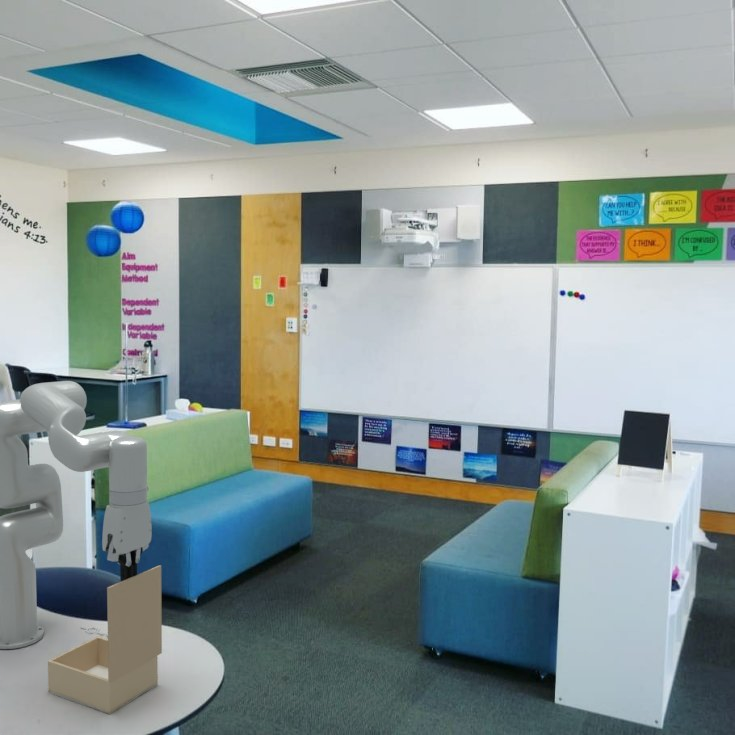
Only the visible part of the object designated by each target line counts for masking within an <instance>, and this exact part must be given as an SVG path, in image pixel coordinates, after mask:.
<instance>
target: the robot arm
mask: <svg viewBox="0 0 735 735" xmlns="http://www.w3.org/2000/svg"><path fill="white" fill-rule="evenodd" d="M87 402H88V400H87V394H86V391H85V390H84V388H83V387H82V386H81V385H80V384H79V383H78V382H75V381H72V380H62V381H61V380H60V381H59V380H58V381H50V382H49V381H48V382H40V383H35V384H31V385H29V386H28V387H26V388H25V389H24V390H23V391H22V393H21V394H20V396H19V399H11V400H9V399H8V400H4V401H0V509H7V510H8V509H15V508H20V507H26V506H29V505H33V504H35V507H33V508H29V509H24V510H19V511H14V512H10V513H6V514H3V515H1V516H0V650H13V649H14V650H15V649H21V648H25V647H28V646H31V645H33V644H35V643H37V642H38V641H40V640H41V639H42V638H43V637H44V635H45V628H44V627H42V626H41V625H40V624H38V610H37V609H38V608H37V607H38V606H37V602H38V601H37V571H36V570H37V569H36V564H35V563H34V560H32V559H31V557H30V556H29V555H28V554H27V551H28V550H31V549H33V548H37V547H41V546H45V545H49V544H51V543H54V542H56V541H57V540H60V538H61V537H62V535H63V531H64V512H63V499H62V498H63V497H62V486H61V479H60V476H59V473H58V472H57V470H56V469H55V468H54V467H53V466H52V465H50V464H47V463H38V464H37V463H36V464H31V465H29V459H28V458H29V457H28V456H29V454H28V449H27V446H26V444H25V443H24V442H23V440H22V439H21V438H20V437H19V436H21V435H30V434H36V433H44V432H48V435H47V436H48V438H47V441H48V445H49V449H50V451H51V453H52V456H53V457H54V458H55V459H56V461H58V462H59V463H61V464H62V465H63V466H65V467H66V468H68V469H69V470H71V471H74V472H77V473H85V472H90V471H95V470H100V469H105V468H106V469H107V468H108V484H109V485H108V486H109V489H108V492H109V499H108V500H109V503H108V505H106V507H105V510H104V516H103V525H102V539H101V546H102V551H103V552H105V553H107V556H106V560H107V561H109V562H117V564H118V565H120V566H119V569H120V570H119V572H120V573H119V574H120V575H119V576H120V582H121V581H124V580H126V579H128V578H131V577H133V576H136V575H138V563H140V559H141V555H142V553H143V552H144V551H145V550H147V549H148V548H149V546H150V543H151V542H152V532H153V529H152V515H151V514H152V513H151V508H150V502H149V500H148V492H149V487H148V446H147V441H146V440H145V439H144V438H143V437H139V436H131V435H130V434H128V433H127V432H124V431H121V430H110V431H104V432H102V431H101V432H94V433H89V434H82V435H79V434H80V433H81V432H82V431H83V429H84V427H85V425H86V423H87V422H86V420H87V414H86V412H85V409H86V407H87Z"/></svg>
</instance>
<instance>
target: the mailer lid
mask: <svg viewBox="0 0 735 735" xmlns="http://www.w3.org/2000/svg"><path fill="white" fill-rule="evenodd" d="M106 597H107V599H106V601H107V602H106V604H107V605H106V606H107V634H108V637H107V639H108V682H112V681H114V680H115V679H117V678H119V677H121V676H122V675H124V674H126V673H128V672H129V671H131V670H133V669H135V668H136V667H138V666H140V665H142V664H143V663H145V662H147V661H149V660H150V659H152V658H154V657H156V656H157V657H158V656H159V655H161V654H162V653H163V652H162V651H163V649H162V647H163V644H162V641H163V640H162V639H163V637H162V633H163V632H162V631H163V630H162V629H163V628H162V624H163V623H162V621H163V620H162V609H163V608H162V565H161V564H160V565H157V566H155V567H152V568H150V569H147V570H145V571H143V572H140V573H137V575H136V576H133V577H131V578H128V579H126V580H124V581H121V580H120V582H117V583H114V584H112V585H109V586H107V587H106Z"/></svg>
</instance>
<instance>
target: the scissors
mask: <svg viewBox="0 0 735 735" xmlns="http://www.w3.org/2000/svg"><path fill="white" fill-rule="evenodd" d="M84 629H85V630H84ZM89 629H90V630H95V629H96V631H90V630H89ZM80 630H84V631H85V634H87V633H90V634H89V635H94V634H93V633H97V634H96V635H99V636H104V635H106V636H105V637H106V638H108V633H102V632H100V630H101V629H100V628H99V627H84V626H81V627H80Z"/></svg>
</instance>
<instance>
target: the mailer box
mask: <svg viewBox="0 0 735 735" xmlns="http://www.w3.org/2000/svg"><path fill="white" fill-rule="evenodd" d="M158 677H159V676H158V655H157V656H156V657H154V658H152V659H150V660H149V661H147V662H145V663H143V664H142V665H140V666H138V667H136V668H135V669H133V670H131V671H129V672H128V673H126V674H124V675H122V676H121V677H119V678H117V679H115V680H114V681H112V682H108V638H105V637H102V636H100V635H99V636H96V637H94V638H91V639H90V640H88V641H86V642H83V643H82V644H79V645H78V646H75V647H73V648H72V649H69V650H68V651H66V652H63V653H62V654H59V655H57V656H56V657H53V658H51V659H49V660H47V680H48V681H47V684H48V685H47V686H48V688H47V689H48V693H50V694H53V695H55V696H58V697H60V698H63V699H66V700H69V701H72V702H75V703H77V704H79V705H82V706H85V707H88V708H90V707H91V709H94V710H96V711H98V712H102V713H105V714H107V715H111V714H113V713H115V712H116V711H117V710H119V709H121V708H123V707H124V706H126V705H127V704H129V703H131V702H132V701H134V700H135V699H138V697H141V696H142V695H143V694H145V693H147V692H148V691H150V690H151V689H153V688H155V687H157V686H158V685H159V684H158Z"/></svg>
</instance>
